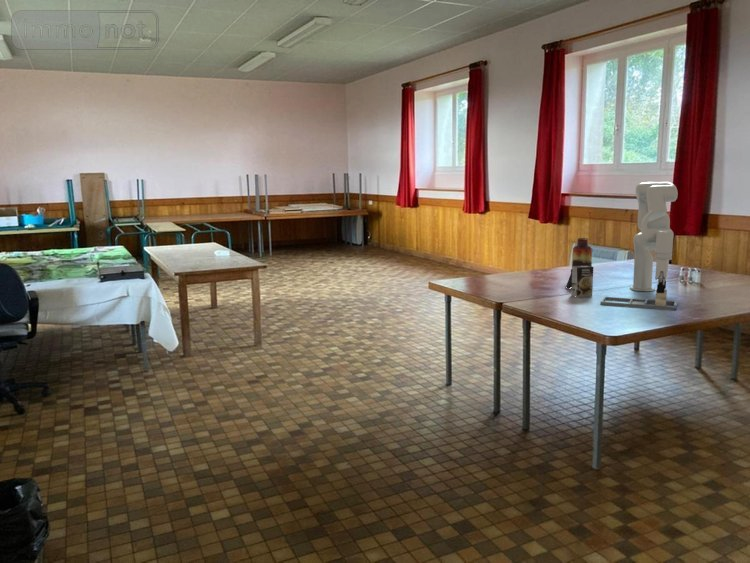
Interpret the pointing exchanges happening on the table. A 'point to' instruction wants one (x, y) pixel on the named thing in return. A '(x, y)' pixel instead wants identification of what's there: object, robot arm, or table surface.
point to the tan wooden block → (661, 298)
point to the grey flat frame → (638, 303)
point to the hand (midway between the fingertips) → (661, 290)
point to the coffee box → (582, 281)
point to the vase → (582, 253)
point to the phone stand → (569, 281)
